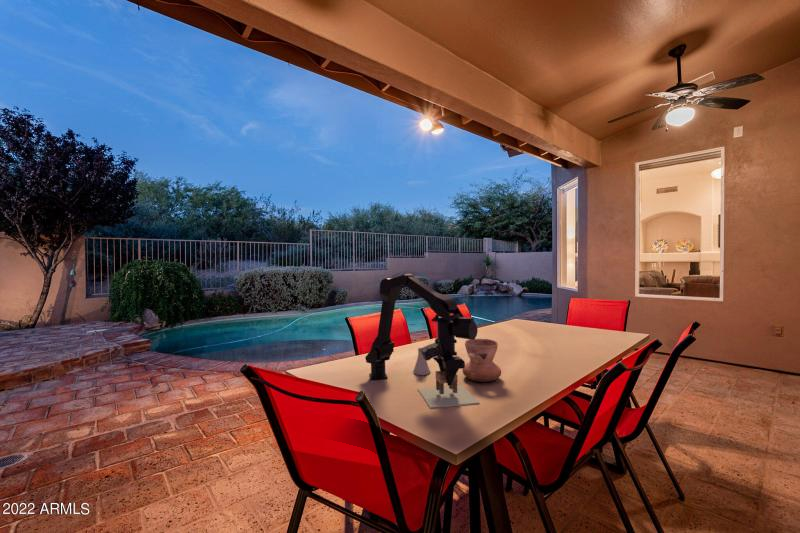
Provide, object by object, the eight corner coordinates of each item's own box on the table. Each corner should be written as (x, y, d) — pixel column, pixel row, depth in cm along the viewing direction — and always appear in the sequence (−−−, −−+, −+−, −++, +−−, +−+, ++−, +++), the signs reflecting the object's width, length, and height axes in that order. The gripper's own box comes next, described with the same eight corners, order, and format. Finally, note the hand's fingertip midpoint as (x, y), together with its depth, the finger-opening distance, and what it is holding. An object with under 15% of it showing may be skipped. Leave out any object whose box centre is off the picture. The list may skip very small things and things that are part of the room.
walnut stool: (452, 387, 115) (452, 370, 115) (457, 392, 110) (457, 374, 110) (435, 388, 114) (435, 371, 114) (440, 394, 109) (439, 376, 109)
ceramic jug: (488, 389, 118) (488, 349, 118) (453, 380, 128) (453, 343, 128) (510, 376, 131) (509, 340, 131) (476, 369, 141) (476, 335, 141)
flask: (429, 376, 133) (429, 351, 133) (411, 375, 135) (411, 350, 135) (431, 370, 140) (431, 346, 140) (414, 369, 142) (414, 346, 142)
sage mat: (417, 389, 119) (417, 388, 119) (461, 386, 122) (460, 384, 122) (430, 408, 103) (430, 407, 103) (479, 403, 106) (479, 402, 106)
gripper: (415, 331, 120) (416, 375, 120) (430, 343, 102) (431, 395, 102) (445, 330, 122) (446, 373, 122) (465, 341, 104) (465, 392, 104)
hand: (446, 382), depth 112 cm, fingers closed on walnut stool, 5 cm apart
